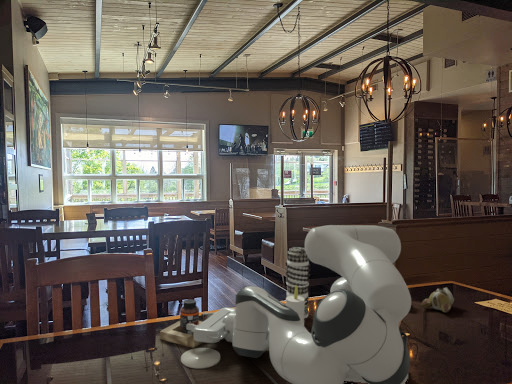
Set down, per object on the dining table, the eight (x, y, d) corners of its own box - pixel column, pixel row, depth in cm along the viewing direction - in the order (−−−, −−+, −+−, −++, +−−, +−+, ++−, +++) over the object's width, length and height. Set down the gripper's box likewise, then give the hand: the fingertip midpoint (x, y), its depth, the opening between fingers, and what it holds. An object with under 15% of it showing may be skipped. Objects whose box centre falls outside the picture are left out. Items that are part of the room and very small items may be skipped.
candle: (283, 331, 130) (284, 287, 129) (287, 324, 136) (288, 282, 135) (301, 334, 128) (302, 289, 127) (305, 327, 134) (306, 284, 133)
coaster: (227, 355, 113) (227, 352, 113) (206, 372, 103) (206, 370, 103) (196, 346, 118) (196, 344, 118) (172, 362, 108) (172, 360, 108)
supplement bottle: (194, 340, 122) (195, 305, 121) (176, 338, 123) (177, 303, 123) (201, 332, 128) (201, 298, 127) (184, 331, 129) (184, 297, 128)
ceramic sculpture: (461, 286, 155) (447, 296, 145) (460, 307, 156) (446, 319, 145) (433, 280, 163) (418, 290, 152) (433, 301, 163) (418, 311, 153)
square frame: (217, 332, 128) (217, 324, 128) (194, 348, 117) (194, 339, 117) (185, 324, 134) (185, 317, 134) (160, 339, 123) (160, 331, 122)
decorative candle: (303, 321, 139) (304, 251, 138) (280, 316, 144) (281, 248, 142) (313, 313, 147) (314, 247, 145) (291, 308, 152) (292, 244, 150)
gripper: (220, 351, 109) (177, 343, 114) (247, 325, 128) (209, 319, 133) (220, 329, 109) (177, 322, 113) (247, 306, 128) (209, 301, 132)
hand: (195, 320), depth 123 cm, fingers open, 8 cm apart
